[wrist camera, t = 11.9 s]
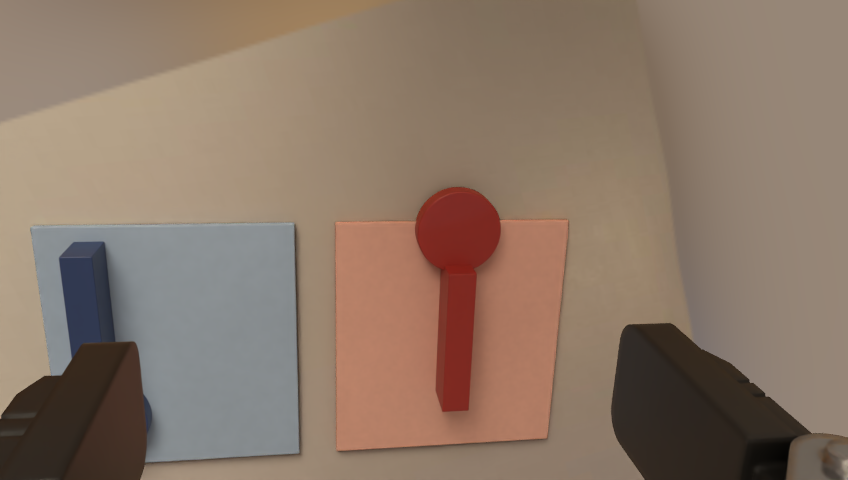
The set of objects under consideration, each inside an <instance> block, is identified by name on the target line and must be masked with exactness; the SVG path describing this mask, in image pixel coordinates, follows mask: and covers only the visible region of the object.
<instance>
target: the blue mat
mask: <svg viewBox="0 0 848 480" xmlns="http://www.w3.org/2000/svg"><path fill="white" fill-rule="evenodd" d="M30 229H31V236H32V243H33V250H34V257H35V264H36V271H37V278H38V286H39V293H40V300H41V307H42V314H43V321H44V328H45V335H46V342H47V349H48V356H49V363H50V370H51V376H56V375H62V374H63V372H64V371H65V369H66V367H67V366H68V364H69V363H70V361H71V360H72V356H71V349H70V341H69V333H68V326H67V318H66V310H65V303H64V295H63V287H62V280H61V272H60V264H59V257H60V256H61V255H62V254H63V252H64V251H65V250H66V249H67V248H68V247H69V246H70V245H71V244H72V243H73V242H101V241H103V242H105V251H106V260H107V269H108V278H109V288H110V297H111V306H112V315H113V324H114V334H115V342H127V341H134V342H135V343H136V345H137V347H138V351H139V357H140V367H141V377H142V387H143V394H144V395H145V397H146V398H147V400H148V402H149V404H150V407H151V410H152V422H151V425H150V428H149V431H148V434H147V449H146V459H145V463H148V462H165V461H181V460H198V459H214V458H231V457H247V456H264V455H280V454H297V453H299V406H298V361H297V317H296V273H295V229H294V223H207V224H122V225H36V226H32V227H31V228H30Z"/></svg>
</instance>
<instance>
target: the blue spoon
mask: <svg viewBox="0 0 848 480" xmlns="http://www.w3.org/2000/svg"><path fill="white" fill-rule="evenodd" d="M59 264H60V272H61V280H62V287H63V295H64V303H65V310H66V318H67V326H68V333H69V341H70V349H71V356H72V358H73V357H74V355H75V354H76V352H77V351H78V349H79V347H80V346H81V345H82V344H83V343H99V342H115V334H114V324H113V315H112V306H111V297H110V288H109V278H108V269H107V260H106V251H105V242H103V241H101V242H73V243H72V244H71V245H70V246H69V247H68V248H67V249H66V250H65V251H64V252H63V254H62V255H61V256H60V257H59ZM143 398H144V408H145V418H146V429H147V434H148V431H149V428H150V425H151V422H152V410H151V407H150V404H149V402H148V400H147V398H146V397H145V395H144V394H143Z"/></svg>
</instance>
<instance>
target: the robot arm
mask: <svg viewBox="0 0 848 480" xmlns="http://www.w3.org/2000/svg"><path fill="white" fill-rule="evenodd" d="M611 415H612V424H613V428H614V432H615V435H616V438H617V440H618V442H619V443H620V445H621V446H622V448H623V449H624V450H625V452H626V453H627V455H628V456H629V458H630V459H631V460H632V462H633V463H634V465H635V466H636V467H637V469H638V470H639V472H640V473H641V475H642V476H643V477H644V479H645V480H848V437H843V436H839V435H833V434H823V433H813V434H812V433H811V432H809V431H808V430H807V429H806V428H805V427H804V426H802V425H801V424H800V423H799V422H798V421H797V420H796V419H794V418H793V417H792V416H791V415H790V414H788V413H787V412H786V411H785V410H784V409H783V408H781V407H780V406H779V405H778V404H777V403H776V402H775V401H774V400H772V399H771V398H770V397H765V393H764V392H763V391H762V390H761V389H760V388H758V387H757V386H756V385H755V384H754V383H750V382H749V379H748V378H747V377H745V376H744V375H743V374H742V373H741V372H740V371H739V370H738V369H736V368H735V367H734V366H733V365H732V364H730V363H729V362H727V361H725V360H723V359H721V358H719V357H717V356H715V355H713V354H711V353H709V352H707V351H705V350H701V349H700V348H699V347H698V346H697V345H696V344H695V343H694V342H692V341H691V340H690V339H689V338H688V337H687V336H686V335H685V334H683V333H682V332H681V331H680V330H679V329H678V328H677V327H676V326H674V325H673V324H671V323H660V324H632V325H627V326H626V327H625V328H624V329H623V331H622V334H621V338H620V344H619V351H618V359H617V367H616V374H615V382H614V390H613V398H612V406H611ZM146 449H147V429H146V418H145V408H144V398H143V387H142V377H141V367H140V357H139V351H138V347H137V345H136V343H135V342H134V341H127V342H99V343H83V344H82V345H81V346H80V347H79V349H78V351H77V352H76V354H75V355H74V357H73V358H72V360H71V361H70V363H69V364H68V366H67V367H66V369H65V371H64V372H63V374H62V375H56V376H44V377H42V378H41V379H39V380H38V381H36V382H35V383H33V384H32V385H30V386H29V387H27V388H26V389H24V390H23V391H21V392H20V393H18V394H17V395H16V396H15V397H14V399H13V400H12V401H11V403H10V404H9V406H8V407H7V408H6V410H5V411H4V412H3V414H2V415H1V419H0V480H140V478H141V475H142V472H143V469H144V465H145V459H146Z"/></svg>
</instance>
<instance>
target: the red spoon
mask: <svg viewBox="0 0 848 480" xmlns="http://www.w3.org/2000/svg"><path fill="white" fill-rule="evenodd" d="M415 235H416V240H417V243H418V245H419V247H420V249H421V251H422V253H423V255H424V256H425V258H426V259H427V260H428V261H429V262H430V263H431V264H432V265H434V266H435V267H437V268H439V269H441V273H440V296H439V319H438V342H437V365H436V388H435V391H436V394H437V397H438V400H439V403H440V406H441V409H442V412H451V411H468V410H469V397H470V381H471V364H472V348H473V331H474V314H475V298H476V281H477V273H476V272H475V270H474V268H476V267H478V266H480V265H482V264H483V263H484V262H486V261H487V260H488V259H489V258H490V257H491V255H492V254H493V253H494V251H495V249H496V248H497V245H498V243H499V240H500V235H501V224H500V219H499V216H498V213H497V211H496V210H495V208H494V207H493V205H492V204H491V203H490V202H489V201H488V200H487V199H486V198H485V197H484V196H483V195H482V194H480V193H479V192H477V191H475V190H472V189H469V188H465V187H452V188H447V189H444V190H442V191H440V192H437V193H436V194H434V195H433V196H432V197H430V198H429V199H428V200H427V201H426V202H425V203H424V205H423V206H422V208H421V209H420V211H419V213H418V216H417V219H416V224H415Z"/></svg>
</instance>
